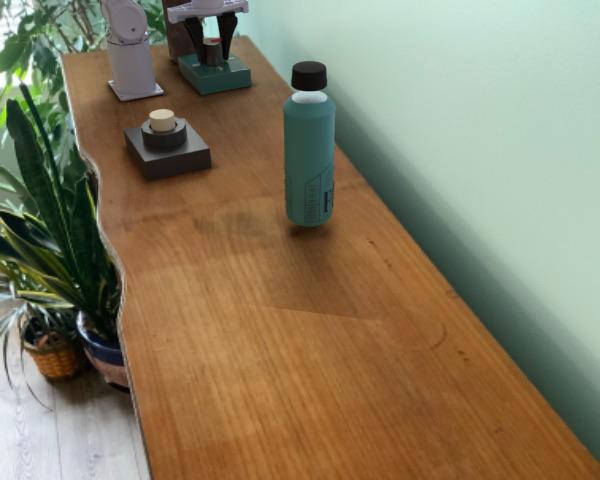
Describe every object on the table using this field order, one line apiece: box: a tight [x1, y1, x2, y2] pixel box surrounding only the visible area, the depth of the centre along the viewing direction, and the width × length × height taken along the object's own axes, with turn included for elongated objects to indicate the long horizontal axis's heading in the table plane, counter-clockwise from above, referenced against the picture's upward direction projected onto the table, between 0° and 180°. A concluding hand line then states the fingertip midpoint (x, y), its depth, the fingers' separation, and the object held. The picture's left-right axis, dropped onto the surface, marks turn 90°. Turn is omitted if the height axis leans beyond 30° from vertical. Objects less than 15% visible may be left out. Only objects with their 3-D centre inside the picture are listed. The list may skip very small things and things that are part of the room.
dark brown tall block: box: [161, 0, 205, 65], centre depth 120 cm, size 8×7×20 cm
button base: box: [122, 116, 213, 182], centre depth 96 cm, size 12×10×5 cm
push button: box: [148, 108, 176, 132], centre depth 93 cm, size 4×4×2 cm
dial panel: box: [178, 50, 252, 96], centre depth 118 cm, size 12×10×3 cm
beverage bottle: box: [282, 60, 337, 227], centre depth 77 cm, size 6×7×20 cm
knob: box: [203, 36, 224, 66], centre depth 116 cm, size 4×4×4 cm
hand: (213, 60), depth 117 cm, fingers closed on knob, 4 cm apart
